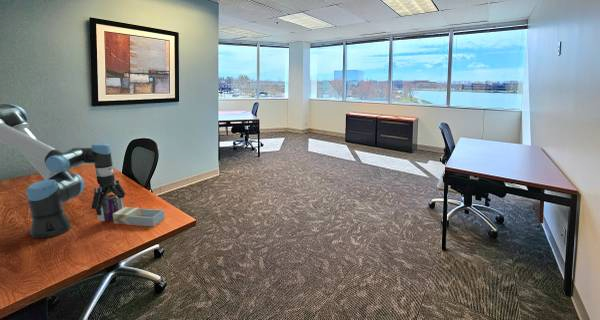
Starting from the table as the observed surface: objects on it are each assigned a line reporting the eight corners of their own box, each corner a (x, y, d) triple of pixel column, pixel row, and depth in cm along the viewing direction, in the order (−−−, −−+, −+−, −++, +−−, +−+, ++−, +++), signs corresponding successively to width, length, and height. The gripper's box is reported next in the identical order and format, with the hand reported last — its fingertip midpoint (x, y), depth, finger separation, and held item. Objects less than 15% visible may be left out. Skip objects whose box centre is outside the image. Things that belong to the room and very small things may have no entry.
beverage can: (122, 218, 165) (119, 196, 162) (107, 223, 160) (103, 200, 157) (117, 215, 170) (114, 193, 167) (102, 219, 165) (98, 197, 162)
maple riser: (114, 223, 160) (112, 213, 159) (126, 215, 169) (125, 206, 167) (128, 224, 159) (127, 214, 158) (140, 216, 167) (139, 207, 166)
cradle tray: (129, 224, 159) (128, 216, 157) (141, 216, 168) (140, 208, 167) (153, 226, 156) (152, 217, 155) (164, 218, 166) (164, 210, 165)
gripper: (92, 182, 147) (99, 226, 152) (129, 168, 171) (134, 206, 176) (77, 182, 148) (85, 225, 153) (116, 167, 172) (122, 205, 177)
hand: (111, 215), depth 164 cm, fingers open, 13 cm apart
